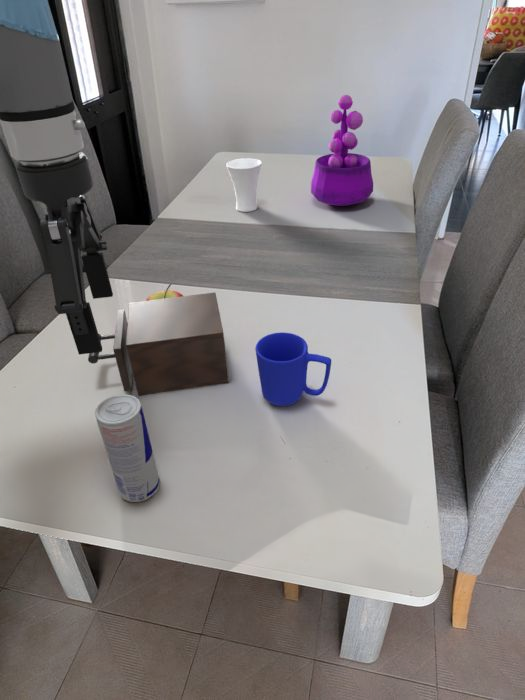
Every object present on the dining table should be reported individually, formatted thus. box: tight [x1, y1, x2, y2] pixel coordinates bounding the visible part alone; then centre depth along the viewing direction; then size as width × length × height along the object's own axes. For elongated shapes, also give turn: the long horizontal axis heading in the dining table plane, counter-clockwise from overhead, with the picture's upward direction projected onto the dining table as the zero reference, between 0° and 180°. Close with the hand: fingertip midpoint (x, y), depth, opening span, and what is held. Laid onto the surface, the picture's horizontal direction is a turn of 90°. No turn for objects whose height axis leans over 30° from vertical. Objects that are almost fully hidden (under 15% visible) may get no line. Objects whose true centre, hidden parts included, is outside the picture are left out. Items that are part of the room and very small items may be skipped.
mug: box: [254, 332, 332, 407], centre depth 83 cm, size 8×12×10 cm
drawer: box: [87, 309, 133, 392], centre depth 91 cm, size 20×12×9 cm, turn 100°
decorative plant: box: [310, 94, 374, 207], centre depth 150 cm, size 19×18×30 cm
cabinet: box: [126, 292, 230, 397], centre depth 91 cm, size 16×14×11 cm
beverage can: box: [94, 394, 161, 503], centre depth 68 cm, size 6×6×15 cm
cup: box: [225, 157, 262, 213], centre depth 154 cm, size 10×10×14 cm
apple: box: [145, 283, 184, 301], centre depth 102 cm, size 8×8×10 cm
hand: (97, 322), depth 68 cm, fingers open, 13 cm apart
